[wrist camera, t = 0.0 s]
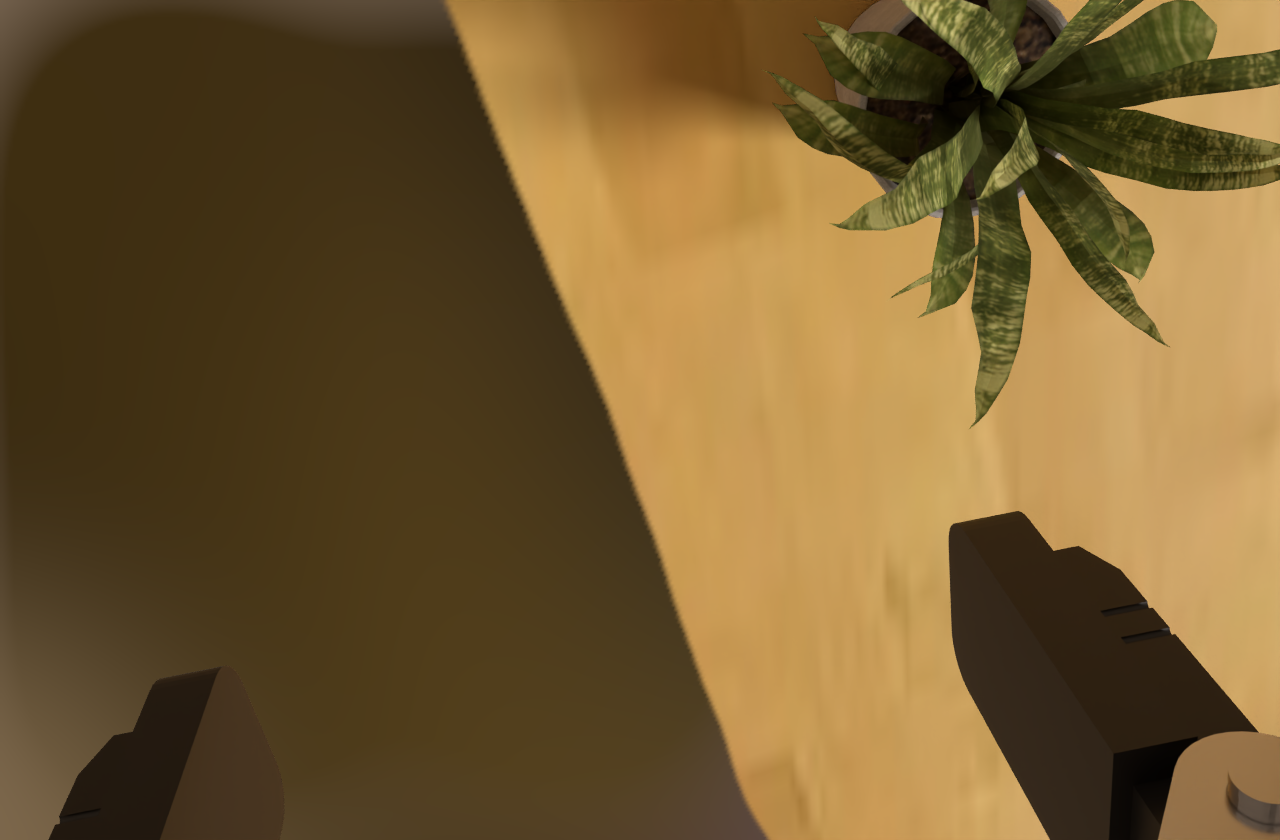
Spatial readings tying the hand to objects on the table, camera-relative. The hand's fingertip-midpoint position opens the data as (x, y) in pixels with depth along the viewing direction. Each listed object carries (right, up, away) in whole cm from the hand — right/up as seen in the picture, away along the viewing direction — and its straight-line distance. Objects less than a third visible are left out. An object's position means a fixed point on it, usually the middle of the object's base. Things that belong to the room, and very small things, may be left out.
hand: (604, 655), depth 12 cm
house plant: (+10, +16, +26) cm, 33 cm away
